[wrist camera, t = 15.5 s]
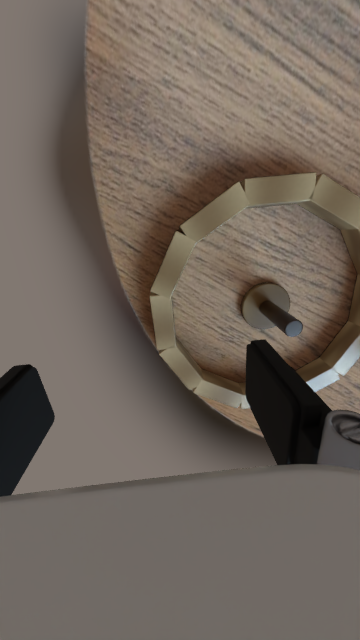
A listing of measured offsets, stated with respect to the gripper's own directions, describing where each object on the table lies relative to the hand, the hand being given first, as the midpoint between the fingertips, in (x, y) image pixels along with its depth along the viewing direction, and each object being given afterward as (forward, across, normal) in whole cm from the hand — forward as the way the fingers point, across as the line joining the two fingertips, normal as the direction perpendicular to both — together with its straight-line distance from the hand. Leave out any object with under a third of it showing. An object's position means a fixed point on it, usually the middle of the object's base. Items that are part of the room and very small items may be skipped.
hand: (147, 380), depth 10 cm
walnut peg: (+9, -9, +1) cm, 13 cm away
